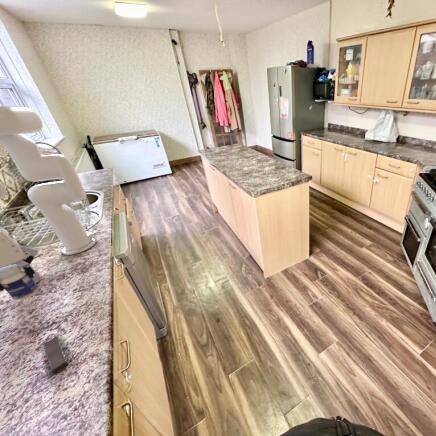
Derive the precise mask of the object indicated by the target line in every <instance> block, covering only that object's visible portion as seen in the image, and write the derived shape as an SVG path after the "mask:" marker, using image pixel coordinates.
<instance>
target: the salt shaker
mask: <svg viewBox="0 0 436 436" xmlns="http://www.w3.org/2000/svg"><path fill="white" fill-rule="evenodd" d="M14 264H16V265H18V266H19V267H20V268H21V269H20V270H24V269H23V266H22V265H20V264H18V263H16V262H15V263H13V264H10V265H14ZM33 270H34V271H35V274H33V275H34V278H32V279H33V281H34V282H35V283H36V284H37V283H39V282H40V281H41V278H40V277H41V273H40V272H39V271H37V270H36V269H35V268H33Z"/></svg>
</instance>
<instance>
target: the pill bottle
mask: <svg viewBox="0 0 436 436" xmlns="http://www.w3.org/2000/svg"><path fill="white" fill-rule="evenodd" d="M20 269H21V268H20V267H19V266H18V265H16V264H14V265H11V264H10V265H7V266H5V267H2V268H0V284H1V285H2V286H3V288H4V291H6V293H8V294H9V296H10V297H11V298H12V299H13V300H14V301H20V300H24V299H27V298H29V297H32V296H34V295H35V294H36V293H37V292H38V291H39V286H38V285H37V283H35V282H34V281H33V279H32V278H30V277H29V276H28V274H27V273H26V272H25V270H20Z"/></svg>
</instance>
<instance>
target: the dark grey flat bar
mask: <svg viewBox="0 0 436 436" xmlns="http://www.w3.org/2000/svg"><path fill="white" fill-rule="evenodd" d="M43 347H44V351H45V355H46V358H47V361H48V365H49V369H50V371H51V373H52V374H56V373H57V372H59V371H60V370H62V369H64V368H65V367H66V366H68V365H69V361H68V359H67V355H66V353H65V350H64V348H63V345H62V342H61V340H60V338H59V336H58V335H57V336H55V337H53V338H51V339H50V340H48V341H46V342H44V343H43Z"/></svg>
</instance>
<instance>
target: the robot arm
mask: <svg viewBox="0 0 436 436" xmlns="http://www.w3.org/2000/svg"><path fill="white" fill-rule="evenodd" d="M42 129H43V121H42V118H41V117H40V116H39V115H38V114H37V112H36V111H35V110H33V109H31V108H29V107H25V106H11V105H0V145H1V146H2V147H3V148H4V149H5V150H6V152H7V153H8V155H9V157H10V158H11V160H12V162H13V163H14V165H15V167H16V168H17V171H18V172H19V174H20V175H21V176H22V178H23V179H25V180H26V181H28V182H44V181H50V180H57V179H61V181H53V182H45V183H40V184H35V185H34V186H31V187H30V188H29V189H28V191H27V198H28V199H29V201H30V202H31V204H33V205H34V207H36V208H37V209H38V211H40V213H41V214H42V215H43V217H44V218H45V219H46V221H47V223H48V225H49V226H50V227H51V229H52V231H53V233H54V234H55V236H56V237H57V238H58V240H59V241H60V243H61V244H62V246H63V247H62V248H61V253H62V254H63V255H66V256H70V255H76V254H79V253H82V252H85V251H87V250H89V249H90V248H92V247H93V246H94V245H95V244H96V239H95V237H97V236H99V235H100V234H101V233H100V231H99V230H96V231H90V232H89V233H87V231H86V229H85V228H84V225H83V224H82V223H81V221H80V219H79V217H78V215H77V213H76V212H75V210H74V209H73V208H72V207H70V206H69V205H67V204H72V203H77V202H82V201H83V200H85V199H86V197H87V193H86V190H85V188H84V185H83V183H82V181H81V179H80V177H79V175H78V173H77V170H76V168H75V167H74V164H73V162H72V161H71V160H70V159H69V158H68V157H67V156H66V155H63V154H61V153H56V154H46V155H45V154H44V153H42V151H41V149H40V148H39V146H38V145H37V143H36V142H35V141H34V140H33V139H31V138H30V137H29V136H27V135H26V134H35V133H39V132H41V131H42ZM5 196H6V188H5V186H4V185H3V183H2V182H1V181H0V201H1V200H2V199H3V198H4V197H5ZM2 226H5V222H4V221H3V220H2V219H1V220H0V269H2V268H4V267H6V266H9V265H11V264H13V263H15V262H16V263H18V264H20V265H22V266H23V269H24V270H25V272H26V273H27V274H28V276H29V277H30V278H34V275H33V274H35V271H34V270H33V269H34V267H32V266H31V264H32V263H33V261H34V259H35V257H36V256H37V254H38V252H39V250H38V249H37V248H35V247H29V246H25V245H21V244H20V243H19V242H18V241H17V239H15V237H14V236H13V235H12V234H11V233H10V232H9V231H7V230H6V228H3V227H2ZM25 253H29V254H27V256H26V254H25ZM4 291H5V289H4V288H3V286H2V285H1V284H0V292H4Z"/></svg>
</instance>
